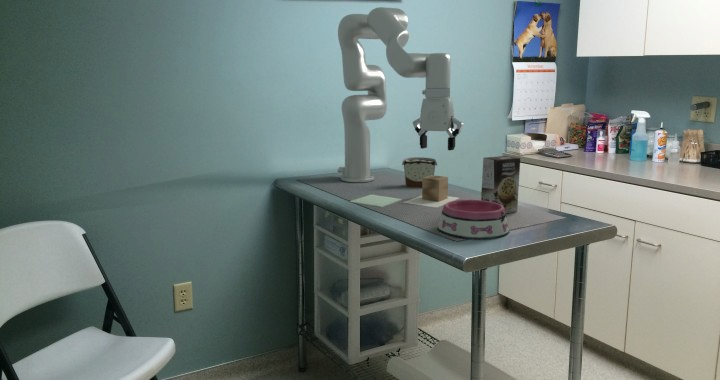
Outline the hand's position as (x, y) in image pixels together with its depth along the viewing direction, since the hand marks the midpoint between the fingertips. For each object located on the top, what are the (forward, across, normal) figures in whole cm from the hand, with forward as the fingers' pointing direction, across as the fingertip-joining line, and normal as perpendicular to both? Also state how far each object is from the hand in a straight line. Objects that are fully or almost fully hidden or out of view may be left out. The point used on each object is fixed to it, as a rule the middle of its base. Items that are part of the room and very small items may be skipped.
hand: (437, 149), depth 185 cm
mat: (+16, -15, -13) cm, 25 cm away
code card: (+16, -1, -2) cm, 17 cm away
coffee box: (+17, +22, -3) cm, 28 cm away
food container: (+16, -16, +16) cm, 28 cm away
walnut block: (+16, -1, 0) cm, 16 cm away
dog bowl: (+18, +24, -25) cm, 39 cm away
